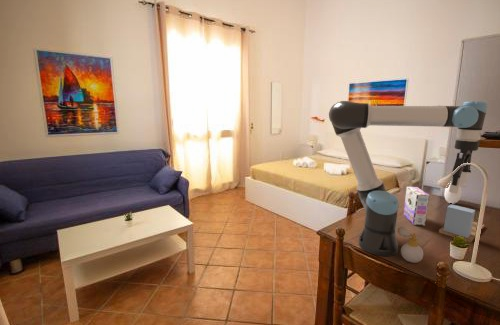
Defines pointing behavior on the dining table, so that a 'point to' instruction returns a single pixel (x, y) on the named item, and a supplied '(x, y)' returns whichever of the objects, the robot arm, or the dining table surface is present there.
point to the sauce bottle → (452, 195)
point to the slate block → (459, 220)
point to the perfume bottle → (410, 247)
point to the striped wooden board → (462, 236)
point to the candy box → (416, 205)
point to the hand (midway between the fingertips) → (457, 189)
